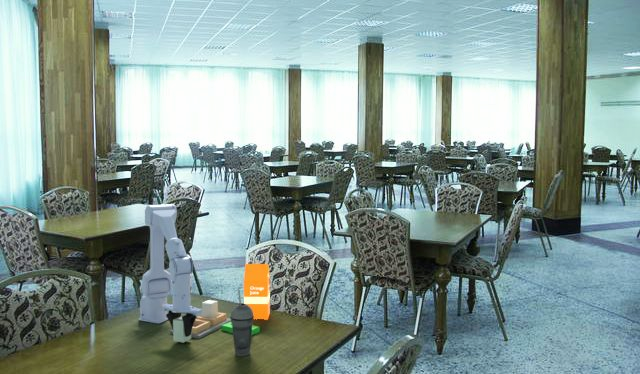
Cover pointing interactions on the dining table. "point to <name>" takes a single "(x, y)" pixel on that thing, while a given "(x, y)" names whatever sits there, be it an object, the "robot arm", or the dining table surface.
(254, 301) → the orange juice
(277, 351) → the dining table surface
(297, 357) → the dining table surface
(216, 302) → the grey-green rectangular block
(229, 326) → the mechanical part
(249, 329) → the beverage cup
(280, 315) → the dining table surface
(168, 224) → the robot arm
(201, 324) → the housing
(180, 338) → the sage block
